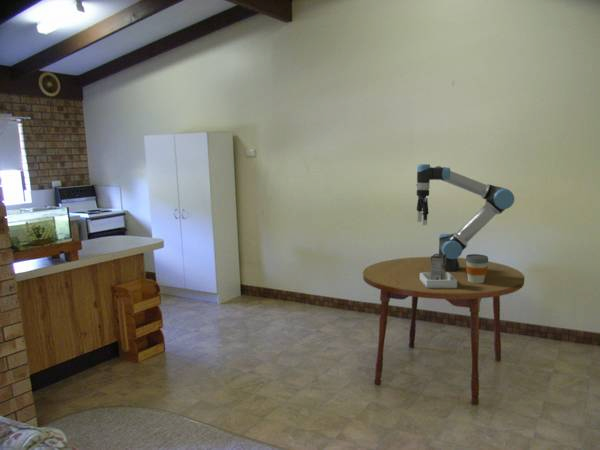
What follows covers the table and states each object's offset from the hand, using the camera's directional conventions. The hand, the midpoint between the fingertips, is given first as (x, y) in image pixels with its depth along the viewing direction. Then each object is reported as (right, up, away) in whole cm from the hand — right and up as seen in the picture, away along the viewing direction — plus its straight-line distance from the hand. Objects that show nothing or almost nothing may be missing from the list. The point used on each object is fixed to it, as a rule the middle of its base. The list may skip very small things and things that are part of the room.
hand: (422, 223), depth 299 cm
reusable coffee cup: (+28, -34, -15) cm, 47 cm away
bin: (+4, -35, -20) cm, 41 cm away
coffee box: (+4, -35, -20) cm, 40 cm away
